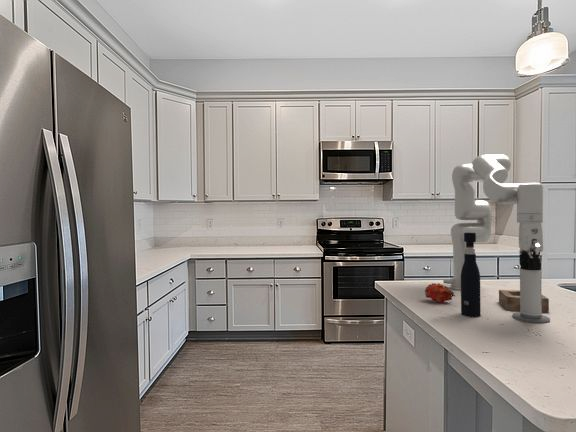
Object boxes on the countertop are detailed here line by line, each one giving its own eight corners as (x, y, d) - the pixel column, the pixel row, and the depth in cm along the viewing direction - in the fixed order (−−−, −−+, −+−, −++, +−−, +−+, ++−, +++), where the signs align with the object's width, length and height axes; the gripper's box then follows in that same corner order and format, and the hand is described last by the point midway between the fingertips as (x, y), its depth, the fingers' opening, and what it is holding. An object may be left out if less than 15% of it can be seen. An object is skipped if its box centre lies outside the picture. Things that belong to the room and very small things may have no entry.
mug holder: (507, 310, 138) (507, 296, 138) (499, 301, 150) (498, 289, 150) (548, 312, 134) (548, 298, 134) (536, 303, 146) (536, 291, 146)
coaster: (517, 322, 124) (517, 320, 124) (508, 313, 134) (508, 311, 134) (555, 324, 120) (555, 322, 120) (543, 314, 131) (543, 313, 131)
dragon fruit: (423, 303, 156) (452, 311, 149) (419, 295, 150) (450, 303, 143) (428, 285, 160) (458, 292, 153) (425, 276, 154) (455, 284, 147)
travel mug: (515, 314, 130) (514, 258, 130) (532, 313, 131) (532, 258, 131) (528, 319, 124) (527, 261, 124) (546, 318, 125) (545, 260, 124)
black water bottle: (479, 313, 135) (478, 232, 134) (482, 318, 129) (481, 233, 128) (460, 311, 137) (459, 232, 136) (462, 316, 131) (461, 233, 130)
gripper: (552, 219, 117) (551, 272, 118) (533, 217, 134) (533, 263, 135) (525, 220, 120) (525, 271, 120) (510, 217, 136) (510, 262, 137)
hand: (529, 267), depth 127 cm, fingers open, 9 cm apart
